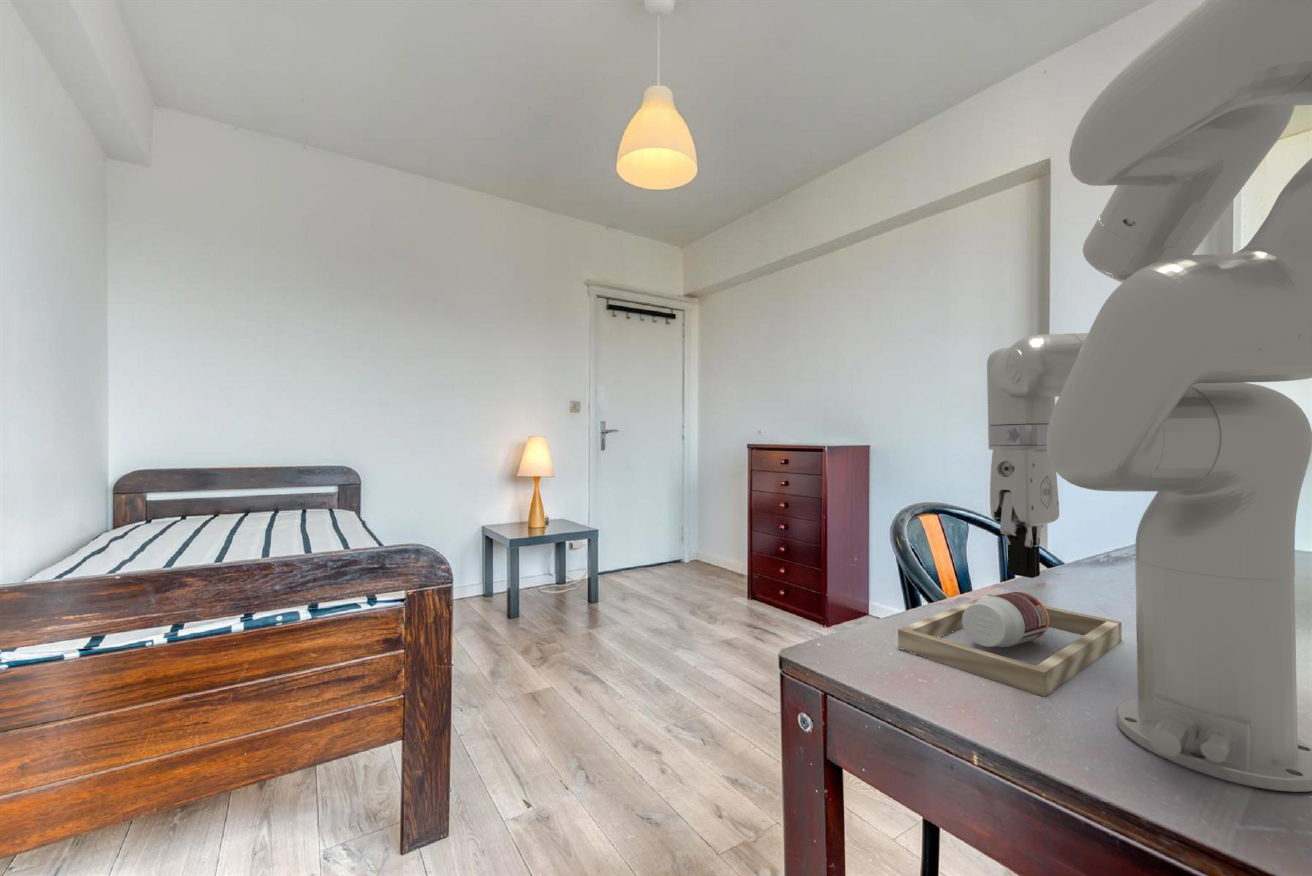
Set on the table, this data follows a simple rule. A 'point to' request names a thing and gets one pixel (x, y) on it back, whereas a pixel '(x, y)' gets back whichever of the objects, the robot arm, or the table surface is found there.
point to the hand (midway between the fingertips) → (1023, 574)
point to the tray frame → (1008, 671)
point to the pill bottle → (1005, 619)
